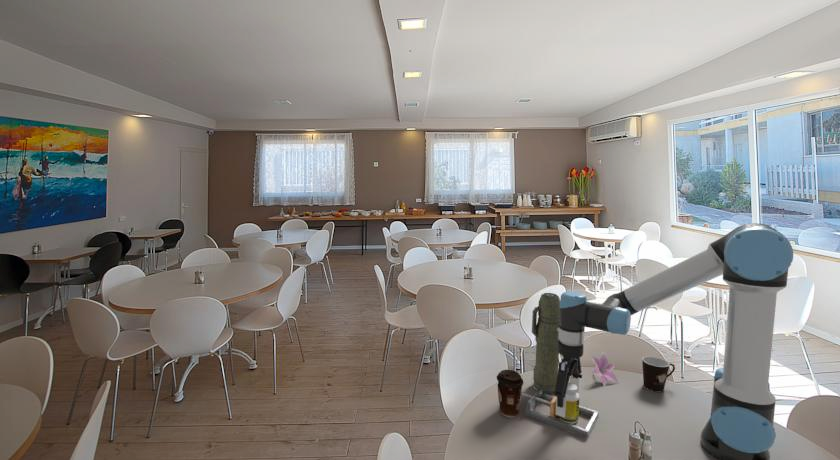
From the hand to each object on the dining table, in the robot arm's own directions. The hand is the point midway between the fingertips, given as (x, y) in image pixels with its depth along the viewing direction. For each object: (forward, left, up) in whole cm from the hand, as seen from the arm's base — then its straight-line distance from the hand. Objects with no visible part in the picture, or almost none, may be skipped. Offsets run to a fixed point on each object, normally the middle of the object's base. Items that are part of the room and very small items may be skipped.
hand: (567, 405), depth 124 cm
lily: (-3, -33, -4) cm, 34 cm away
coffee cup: (+16, +8, -4) cm, 19 cm away
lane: (+2, 0, -4) cm, 4 cm away
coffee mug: (-21, -40, -4) cm, 45 cm away
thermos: (+12, -15, -4) cm, 20 cm away
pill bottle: (0, 0, -4) cm, 5 cm away
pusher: (+9, 0, -4) cm, 10 cm away
